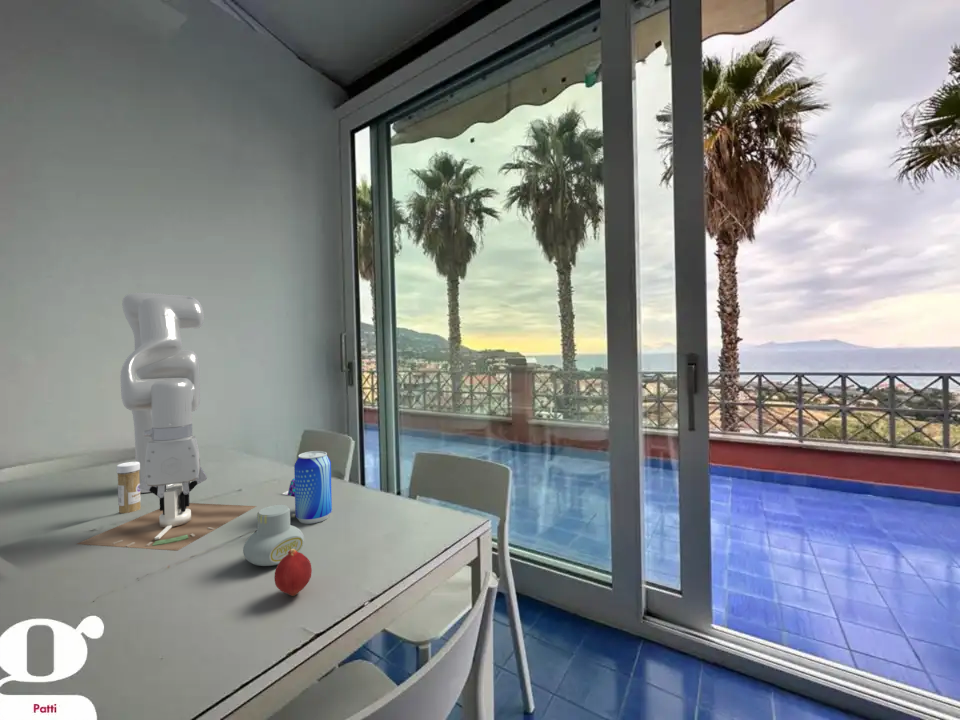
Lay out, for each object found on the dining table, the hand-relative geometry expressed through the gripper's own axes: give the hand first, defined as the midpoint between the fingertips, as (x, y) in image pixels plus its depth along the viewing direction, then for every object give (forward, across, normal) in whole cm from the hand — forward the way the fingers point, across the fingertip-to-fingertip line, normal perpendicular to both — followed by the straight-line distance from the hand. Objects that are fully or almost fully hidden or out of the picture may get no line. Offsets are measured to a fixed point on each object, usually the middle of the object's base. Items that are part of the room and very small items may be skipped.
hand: (175, 510), depth 98 cm
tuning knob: (+3, -1, -3) cm, 4 cm away
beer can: (+5, +29, -9) cm, 31 cm away
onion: (+5, +22, -42) cm, 48 cm away
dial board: (+4, 0, 0) cm, 4 cm away
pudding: (+5, +28, +10) cm, 31 cm away
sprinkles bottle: (+5, -12, +16) cm, 21 cm away
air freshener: (+5, +20, -27) cm, 34 cm away
